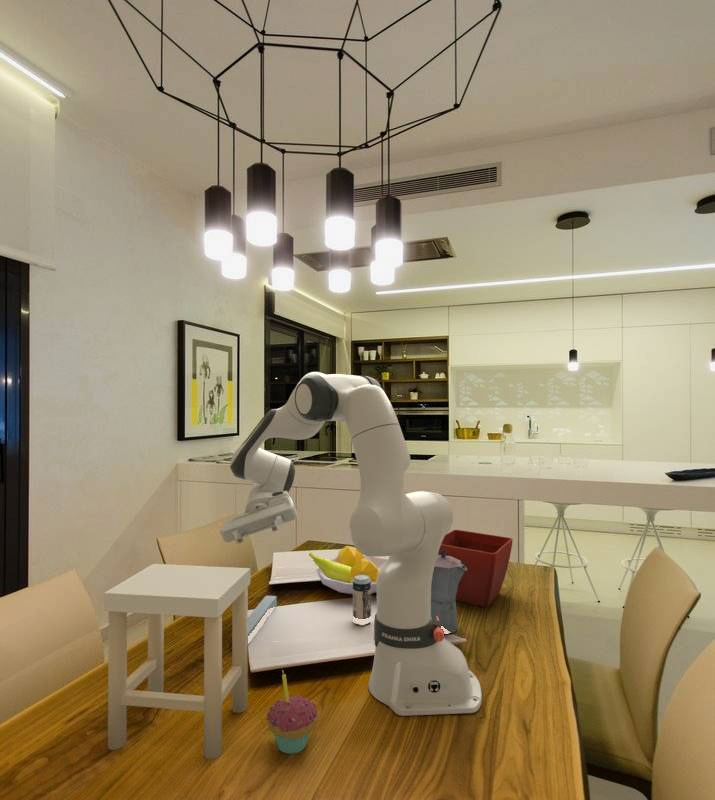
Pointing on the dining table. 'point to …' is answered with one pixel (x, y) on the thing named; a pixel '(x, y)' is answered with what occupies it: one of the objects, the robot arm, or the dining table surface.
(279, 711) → the cupcake
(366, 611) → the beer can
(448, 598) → the moka pot
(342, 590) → the fruit bowl
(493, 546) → the plant pot
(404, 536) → the robot arm
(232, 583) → the stool
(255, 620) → the blue-gray rectangular bar
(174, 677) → the dining table surface
